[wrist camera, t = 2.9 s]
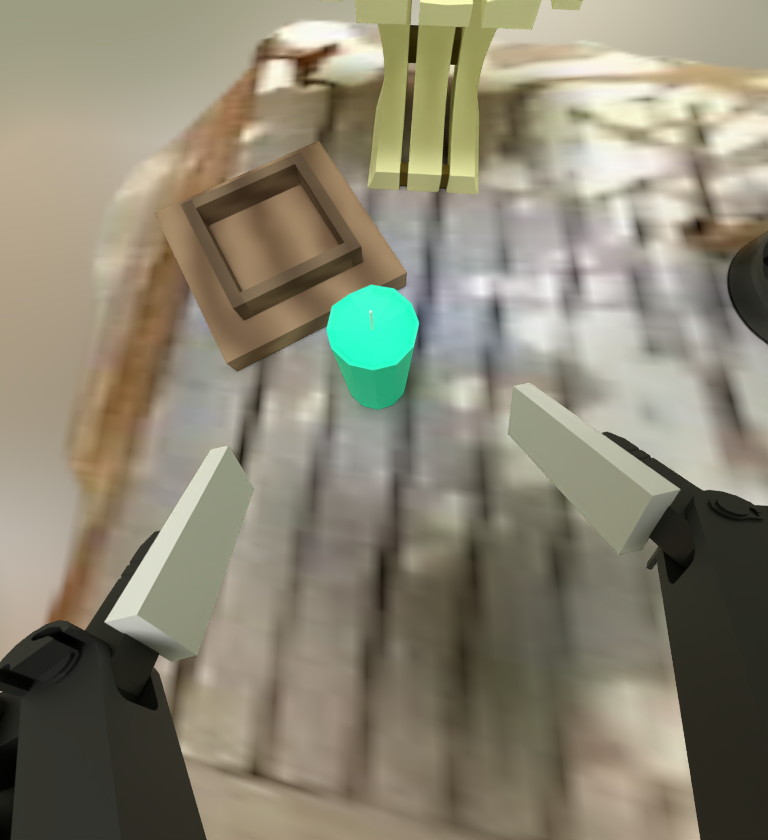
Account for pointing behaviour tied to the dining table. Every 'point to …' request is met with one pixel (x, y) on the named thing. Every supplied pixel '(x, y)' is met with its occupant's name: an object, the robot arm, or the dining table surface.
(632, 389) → the dining table surface
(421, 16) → the slatted curved stool
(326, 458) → the dining table surface
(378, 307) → the candle
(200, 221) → the brown square tray
